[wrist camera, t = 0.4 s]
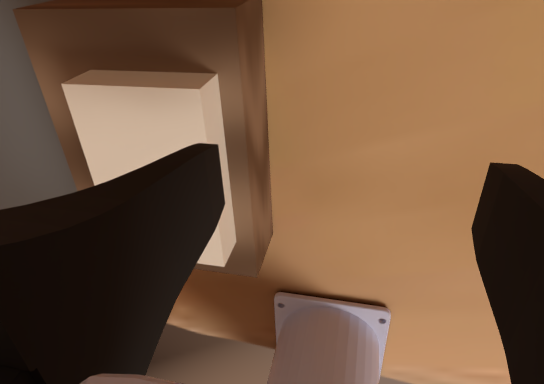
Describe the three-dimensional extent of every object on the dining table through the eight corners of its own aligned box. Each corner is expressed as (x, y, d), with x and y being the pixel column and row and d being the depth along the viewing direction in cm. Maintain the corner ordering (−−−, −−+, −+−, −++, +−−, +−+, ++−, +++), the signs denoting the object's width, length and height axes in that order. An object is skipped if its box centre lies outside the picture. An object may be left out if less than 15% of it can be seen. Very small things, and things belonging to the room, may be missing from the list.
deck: (272, 233, 26) (257, 277, 23) (133, 217, 28) (100, 255, 25) (261, -7, 18) (235, 7, 15) (71, -4, 20) (12, 9, 17)
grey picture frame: (130, 228, 29) (127, 231, 28) (2, 212, 31) (-2, 215, 31) (56, -26, 20) (51, -25, 20) (-114, -21, 22) (-122, -21, 22)
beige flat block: (236, 241, 21) (224, 267, 20) (135, 229, 23) (116, 252, 21) (217, 73, 17) (199, 89, 15) (90, 69, 18) (61, 83, 16)
